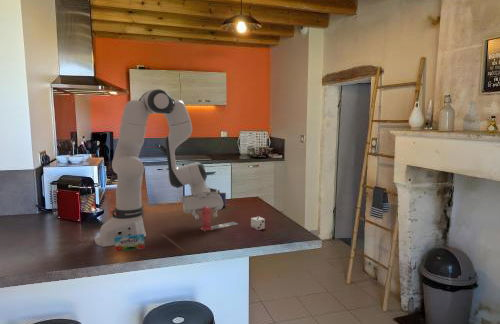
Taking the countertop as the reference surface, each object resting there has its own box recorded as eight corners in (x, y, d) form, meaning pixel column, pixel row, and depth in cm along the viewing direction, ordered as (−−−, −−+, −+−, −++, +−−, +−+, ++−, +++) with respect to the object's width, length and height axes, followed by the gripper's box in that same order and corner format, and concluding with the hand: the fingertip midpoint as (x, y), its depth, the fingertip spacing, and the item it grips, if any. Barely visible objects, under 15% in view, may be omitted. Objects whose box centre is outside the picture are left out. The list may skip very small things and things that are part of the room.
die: (256, 230, 176) (256, 220, 175) (250, 227, 180) (250, 217, 179) (264, 228, 179) (264, 218, 178) (258, 225, 183) (258, 216, 182)
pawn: (204, 231, 172) (204, 208, 170) (200, 228, 175) (199, 206, 174) (212, 229, 174) (212, 206, 173) (208, 226, 178) (208, 204, 176)
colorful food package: (114, 252, 148) (114, 237, 147) (115, 250, 149) (114, 236, 148) (144, 248, 152) (144, 235, 151) (144, 247, 153) (144, 233, 152)
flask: (226, 206, 222) (226, 189, 221) (225, 207, 219) (225, 190, 218) (211, 205, 223) (211, 189, 221) (210, 207, 220) (210, 190, 218)
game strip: (206, 235, 168) (206, 233, 168) (194, 228, 178) (194, 227, 178) (244, 227, 181) (244, 225, 181) (231, 221, 190) (231, 219, 190)
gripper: (181, 192, 174) (187, 217, 167) (220, 189, 183) (227, 212, 175) (179, 199, 179) (184, 223, 171) (217, 195, 187) (224, 218, 180)
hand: (206, 217), depth 173 cm, fingers open, 8 cm apart
